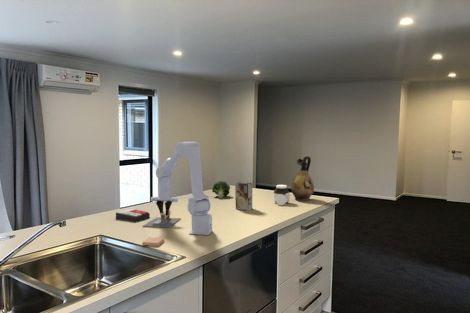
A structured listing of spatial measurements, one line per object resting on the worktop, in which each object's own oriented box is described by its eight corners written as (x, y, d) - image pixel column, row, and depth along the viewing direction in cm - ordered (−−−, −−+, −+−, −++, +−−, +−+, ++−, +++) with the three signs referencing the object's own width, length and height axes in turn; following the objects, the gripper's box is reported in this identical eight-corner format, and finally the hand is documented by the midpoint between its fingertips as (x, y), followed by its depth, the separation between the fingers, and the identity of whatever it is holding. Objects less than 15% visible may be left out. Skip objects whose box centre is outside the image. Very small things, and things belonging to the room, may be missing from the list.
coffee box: (253, 208, 225) (252, 182, 224) (248, 210, 219) (248, 184, 218) (239, 207, 229) (239, 181, 228) (235, 209, 223) (234, 183, 222)
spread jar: (284, 201, 247) (284, 184, 246) (294, 204, 236) (294, 186, 235) (269, 203, 241) (269, 185, 240) (278, 206, 231) (278, 187, 230)
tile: (164, 238, 160) (157, 242, 153) (164, 242, 160) (157, 247, 153) (148, 237, 161) (142, 242, 154) (149, 241, 161) (142, 246, 154)
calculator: (135, 215, 194) (115, 211, 201) (135, 223, 194) (115, 219, 201) (150, 211, 203) (130, 207, 210) (149, 219, 204) (130, 215, 211)
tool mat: (180, 219, 199) (180, 218, 199) (169, 228, 181) (169, 227, 181) (156, 218, 202) (156, 217, 202) (142, 226, 184) (142, 225, 184)
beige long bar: (163, 217, 201) (163, 209, 200) (173, 218, 200) (173, 210, 199) (153, 224, 187) (152, 215, 187) (164, 224, 186) (164, 216, 185)
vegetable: (208, 195, 257) (210, 183, 270) (220, 206, 262) (221, 194, 274) (220, 186, 253) (222, 174, 265) (233, 197, 257) (233, 185, 270)
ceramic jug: (303, 202, 241) (304, 157, 238) (286, 199, 253) (286, 156, 250) (320, 199, 251) (320, 156, 249) (302, 196, 263) (303, 155, 261)
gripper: (179, 188, 196) (180, 213, 197) (154, 188, 198) (154, 212, 199) (175, 190, 189) (175, 216, 190) (148, 190, 191) (149, 215, 192)
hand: (164, 214), depth 194 cm, fingers closed on beige long bar, 2 cm apart
